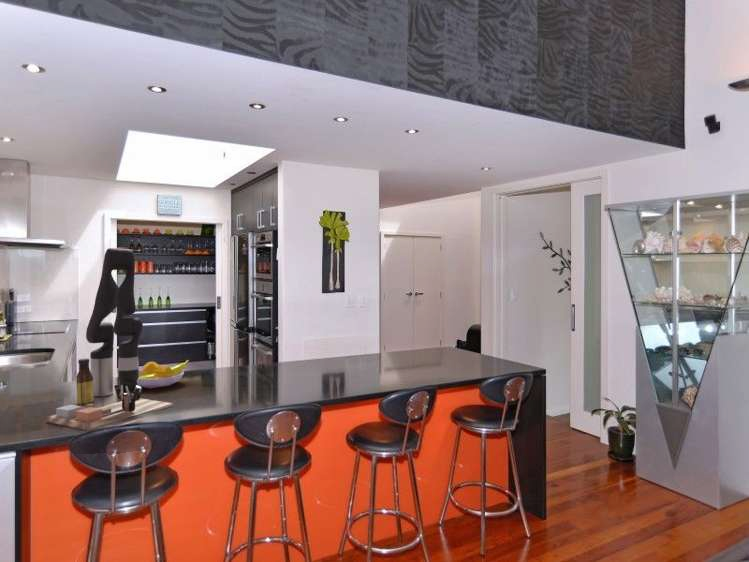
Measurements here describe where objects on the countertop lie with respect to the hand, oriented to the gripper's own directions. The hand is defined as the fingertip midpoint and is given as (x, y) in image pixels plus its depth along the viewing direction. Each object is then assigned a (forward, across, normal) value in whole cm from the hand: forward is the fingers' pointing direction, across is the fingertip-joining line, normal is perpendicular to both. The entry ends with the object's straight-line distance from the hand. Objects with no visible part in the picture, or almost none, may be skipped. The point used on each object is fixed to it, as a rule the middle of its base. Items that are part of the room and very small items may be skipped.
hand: (128, 410), depth 209 cm
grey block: (+1, +10, +14) cm, 18 cm away
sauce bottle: (+2, +27, -1) cm, 27 cm away
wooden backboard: (+2, +5, +3) cm, 6 cm away
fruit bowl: (+2, +29, -43) cm, 52 cm away
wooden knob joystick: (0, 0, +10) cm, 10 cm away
